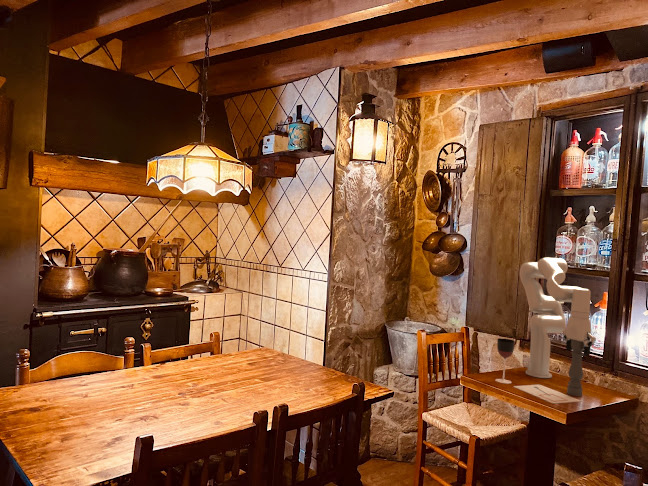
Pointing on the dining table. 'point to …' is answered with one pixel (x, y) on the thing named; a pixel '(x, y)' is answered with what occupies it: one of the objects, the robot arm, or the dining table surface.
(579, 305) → the robot arm
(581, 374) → the candle holder
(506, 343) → the wineglass
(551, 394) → the paper sheet
